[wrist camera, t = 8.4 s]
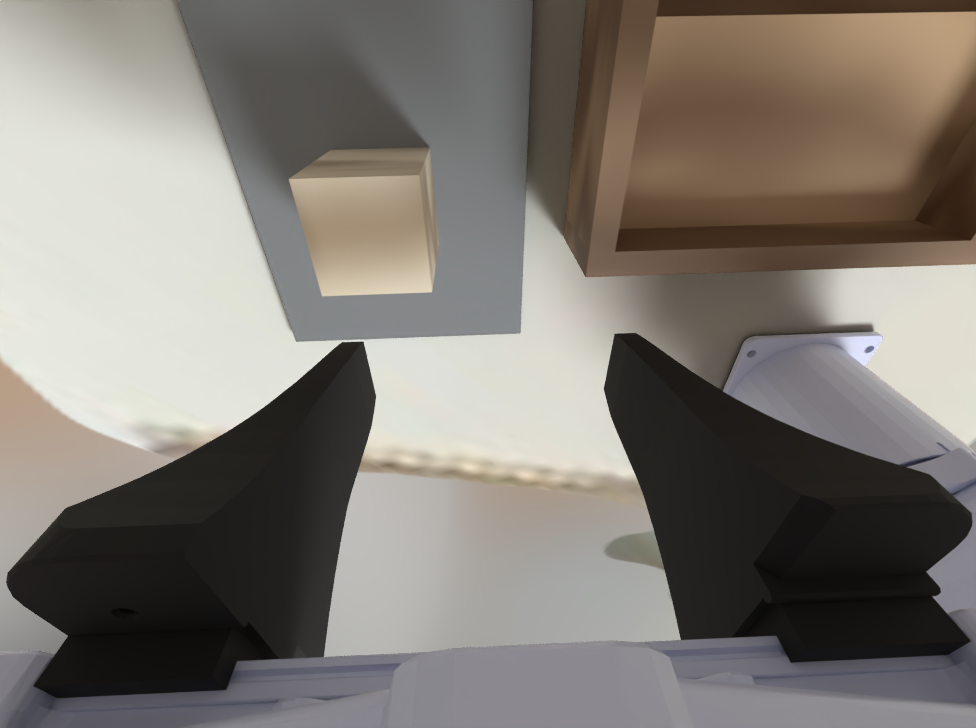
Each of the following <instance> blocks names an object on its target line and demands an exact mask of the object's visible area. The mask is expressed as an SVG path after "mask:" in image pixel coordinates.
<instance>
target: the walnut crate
mask: <svg viewBox="0 0 976 728" xmlns="http://www.w3.org/2000/svg"><path fill="white" fill-rule="evenodd" d="M564 239H565V240H566V242H567V244H568V246H569V248H570V250H571V251H572V253H573V255H574V257H575V259H576V260H577V262H578V264H579V266H580V268H581V269H582V271H583V273H584V275H585V277H602V276H632V275H662V274H692V273H722V272H752V271H782V270H812V269H842V268H872V267H902V266H932V265H962V264H976V0H586V11H585V21H584V31H583V42H582V52H581V63H580V73H579V84H578V94H577V104H576V115H575V125H574V136H573V146H572V156H571V167H570V177H569V188H568V198H567V209H566V219H565V229H564Z"/></svg>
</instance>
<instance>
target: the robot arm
mask: <svg viewBox="0 0 976 728" xmlns="http://www.w3.org/2000/svg"><path fill="white" fill-rule="evenodd" d="M882 340H883V336H882V335H880V334H879V333H877V332H852V333H826V334H799V335H773V336H753V337H750V338H748V339H746V340H745V341H744V343H743V345H742V347H741V350H740V352H739V354H738V357H737V359H736V361H735V364H734V366H733V368H732V371H731V373H730V375H729V378H728V380H727V383H726V385H725V387H724V390H723V391H721V390H720V389H718V388H717V387H715V386H713V385H712V384H710V383H708V382H707V381H705V380H704V379H702V378H701V377H699V376H697V375H696V374H694V373H693V372H691V371H690V370H688V369H687V368H686V367H684V366H683V365H681V364H680V363H678V362H677V361H675V360H674V359H673V358H671V357H670V356H668V355H667V354H666V353H664V352H663V351H661V350H660V349H659V348H657V347H656V346H654V345H653V344H652V343H650V342H649V341H647V340H646V339H644V338H643V337H641V336H640V335H638V334H636V333H624V334H615V335H614V340H613V345H612V350H611V355H610V360H609V365H608V370H607V376H606V381H605V386H604V391H605V395H606V399H607V403H608V407H609V411H610V414H611V418H612V420H613V423H614V425H615V428H616V430H617V433H618V435H619V437H620V440H621V442H622V444H623V447H624V449H625V451H626V454H627V456H628V458H629V461H630V463H631V465H632V468H633V470H634V472H635V475H636V477H637V479H638V482H639V485H640V487H641V490H642V493H643V495H644V498H645V502H646V505H647V508H648V512H649V515H650V518H651V522H652V525H653V528H654V532H655V536H656V539H657V543H658V546H659V550H660V554H661V557H662V561H663V565H664V569H665V573H666V577H667V581H668V585H669V589H670V593H671V597H672V601H673V606H674V610H675V615H676V619H677V623H678V629H679V633H680V637H681V640H676V641H653V642H625V641H597V642H596V641H594V642H575V643H574V642H572V643H551V644H530V645H509V646H489V647H467V648H452V649H445V650H439V651H433V652H421V653H399V654H380V655H356V656H336V657H324V649H325V642H326V634H327V626H328V618H329V611H330V605H331V597H332V591H333V584H334V577H335V571H336V566H337V560H338V554H339V548H340V542H341V537H342V532H343V527H344V521H345V516H346V511H347V506H348V502H349V499H350V495H351V491H352V488H353V485H354V482H355V478H356V475H357V472H358V469H359V466H360V462H361V459H362V456H363V453H364V449H365V446H366V443H367V440H368V436H369V433H370V429H371V426H372V420H373V414H374V407H375V400H376V394H375V390H374V386H373V381H372V377H371V373H370V368H369V364H368V360H367V355H366V351H365V347H364V342H342V343H341V344H339V345H338V346H337V347H336V348H334V349H333V350H332V351H331V352H330V353H329V354H328V355H326V356H325V357H324V358H323V359H322V360H321V361H320V362H319V363H317V364H316V365H315V366H314V367H313V368H312V369H311V370H310V371H308V372H307V373H306V374H305V375H304V376H303V377H301V378H300V379H299V380H298V381H297V382H296V383H294V384H293V385H292V386H291V387H289V388H288V389H287V390H286V391H284V392H283V393H282V394H281V395H279V396H278V397H277V398H275V399H274V400H273V401H272V402H270V403H269V404H268V405H266V406H265V407H264V408H262V409H261V410H260V411H258V412H257V413H255V414H254V415H252V416H251V417H249V418H248V419H246V420H245V421H243V422H242V423H240V424H239V425H237V426H236V427H234V428H233V429H231V430H229V431H228V432H226V433H224V434H223V435H221V436H219V437H217V438H216V439H214V440H212V441H210V442H209V443H207V444H205V445H203V446H201V447H200V448H198V449H196V450H194V451H193V452H191V453H189V454H187V455H185V456H183V457H181V458H179V459H177V460H175V461H173V462H172V463H169V464H167V465H166V466H163V467H161V468H159V469H157V470H155V471H153V472H151V473H149V474H146V475H144V476H142V477H140V478H138V479H135V480H133V481H131V482H129V483H126V484H124V485H122V486H119V487H117V488H114V489H112V490H110V491H107V492H105V493H102V494H100V495H97V496H95V497H93V498H90V499H88V500H85V501H83V502H80V503H78V504H75V505H73V506H70V507H67V508H66V509H64V511H63V512H62V513H61V514H60V515H59V516H58V517H57V519H56V520H55V521H54V522H53V523H52V524H51V525H50V527H48V529H47V530H46V531H45V532H44V533H43V534H42V535H41V536H40V537H39V539H38V540H37V541H36V542H35V543H34V544H33V545H32V546H31V547H30V549H29V550H28V551H27V552H26V553H25V554H24V555H23V556H22V557H21V559H20V560H19V561H18V562H17V563H16V564H15V565H14V566H13V568H12V569H11V570H10V571H9V572H8V575H7V581H6V583H7V586H8V589H9V590H10V592H11V594H12V596H13V597H14V598H15V599H16V600H18V601H19V602H20V603H21V604H22V605H23V606H25V607H26V608H28V609H29V610H31V611H32V612H34V613H35V614H37V615H38V616H39V617H41V618H43V619H44V620H46V621H47V622H49V623H50V624H52V625H53V626H55V627H56V628H57V629H59V630H60V631H62V632H63V633H65V634H66V635H68V637H67V639H66V640H65V641H64V643H63V644H62V646H61V647H60V649H59V650H58V651H57V653H56V654H55V655H53V654H50V653H46V652H41V651H15V652H0V728H976V452H975V451H974V450H973V449H971V448H970V447H969V446H967V445H966V444H965V443H964V442H962V441H961V440H960V439H958V438H957V437H956V436H955V435H953V434H952V433H951V432H949V431H948V430H947V429H945V428H944V427H943V426H942V425H940V424H939V423H938V422H936V421H935V420H934V419H932V418H931V417H930V416H929V415H927V414H926V413H925V412H923V411H922V410H921V409H919V408H918V407H917V406H916V405H914V404H913V403H912V402H910V401H909V400H908V399H907V398H905V397H904V396H903V395H901V394H900V393H899V392H897V391H896V390H895V389H894V388H892V387H891V386H890V385H888V384H887V383H886V382H884V381H883V380H882V379H881V378H879V377H878V376H877V375H875V374H874V373H873V372H871V371H870V370H869V369H868V368H866V367H865V366H866V365H867V363H868V362H869V360H870V359H871V357H872V356H873V354H874V353H875V351H876V350H877V348H878V347H879V345H880V344H881V342H882ZM750 351H751V352H750ZM748 352H750V353H748Z"/></svg>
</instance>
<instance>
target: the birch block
mask: <svg viewBox="0 0 976 728" xmlns="http://www.w3.org/2000/svg"><path fill="white" fill-rule="evenodd" d="M289 182H290V186H291V189H292V193H293V196H294V200H295V203H296V207H297V210H298V214H299V217H300V221H301V224H302V228H303V231H304V235H305V238H306V242H307V245H308V249H309V252H310V256H311V259H312V263H313V266H314V270H315V273H316V277H317V280H318V284H319V287H320V291H321V294H322V296H344V295H372V294H400V293H428V292H432V289H433V282H434V274H435V267H436V260H437V253H438V246H439V239H438V228H437V217H436V206H435V195H434V184H433V173H432V162H431V151H430V147H420V148H383V149H345V150H330V151H329V152H327V153H326V154H324V155H323V156H321V157H320V158H318V159H317V160H316V161H314V162H313V163H311V164H310V165H308V166H307V167H305V168H304V169H302V170H301V171H300V172H298V173H297V174H295V175H294V176H292V177H291V178H289Z"/></svg>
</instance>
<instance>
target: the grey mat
mask: <svg viewBox="0 0 976 728" xmlns="http://www.w3.org/2000/svg"><path fill="white" fill-rule="evenodd" d="M177 3H178V6H179V9H180V11H181V14H182V17H183V20H184V23H185V26H186V29H187V31H188V34H189V37H190V40H191V43H192V46H193V49H194V51H195V54H196V57H197V60H198V63H199V66H200V69H201V71H202V74H203V77H204V80H205V83H206V86H207V89H208V91H209V94H210V97H211V100H212V103H213V106H214V109H215V111H216V114H217V117H218V120H219V123H220V126H221V129H222V131H223V134H224V137H225V140H226V143H227V146H228V149H229V151H230V154H231V157H232V160H233V163H234V166H235V169H236V171H237V174H238V177H239V180H240V183H241V186H242V189H243V191H244V194H245V197H246V200H247V203H248V206H249V209H250V211H251V214H252V217H253V220H254V223H255V226H256V229H257V231H258V234H259V237H260V240H261V243H262V246H263V249H264V251H265V254H266V257H267V260H268V263H269V266H270V269H271V271H272V274H273V277H274V280H275V283H276V286H277V289H278V291H279V294H280V297H281V300H282V303H283V306H284V309H285V311H286V314H287V317H288V320H289V323H290V326H291V329H292V331H293V334H294V337H295V340H296V342H300V341H327V340H354V339H381V338H408V337H435V336H462V335H489V334H516V333H520V331H521V304H522V278H523V251H524V225H525V198H526V172H527V145H528V119H529V93H530V66H531V40H532V13H533V0H177ZM420 147H430V151H431V162H432V173H433V184H434V195H435V206H436V217H437V228H438V239H439V246H438V253H437V260H436V267H435V274H434V282H433V289H432V292H428V293H400V294H372V295H344V296H322V294H321V291H320V287H319V284H318V280H317V277H316V273H315V270H314V266H313V263H312V259H311V256H310V252H309V249H308V245H307V242H306V238H305V235H304V231H303V228H302V224H301V221H300V217H299V214H298V210H297V207H296V203H295V200H294V196H293V193H292V189H291V186H290V182H289V178H291V177H292V176H294V175H295V174H297V173H298V172H300V171H301V170H302V169H304V168H305V167H307V166H308V165H310V164H311V163H313V162H314V161H316V160H317V159H318V158H320V157H321V156H323V155H324V154H326V153H327V152H329V151H330V150H345V149H383V148H420Z"/></svg>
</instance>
